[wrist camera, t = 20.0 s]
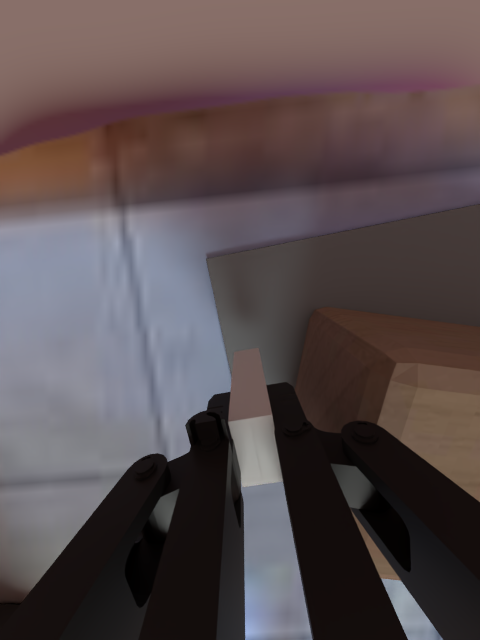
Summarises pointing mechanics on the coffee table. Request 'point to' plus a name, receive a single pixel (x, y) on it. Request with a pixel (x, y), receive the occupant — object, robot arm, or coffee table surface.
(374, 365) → the block
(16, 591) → the coffee table surface
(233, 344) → the mat
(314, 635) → the robot arm
